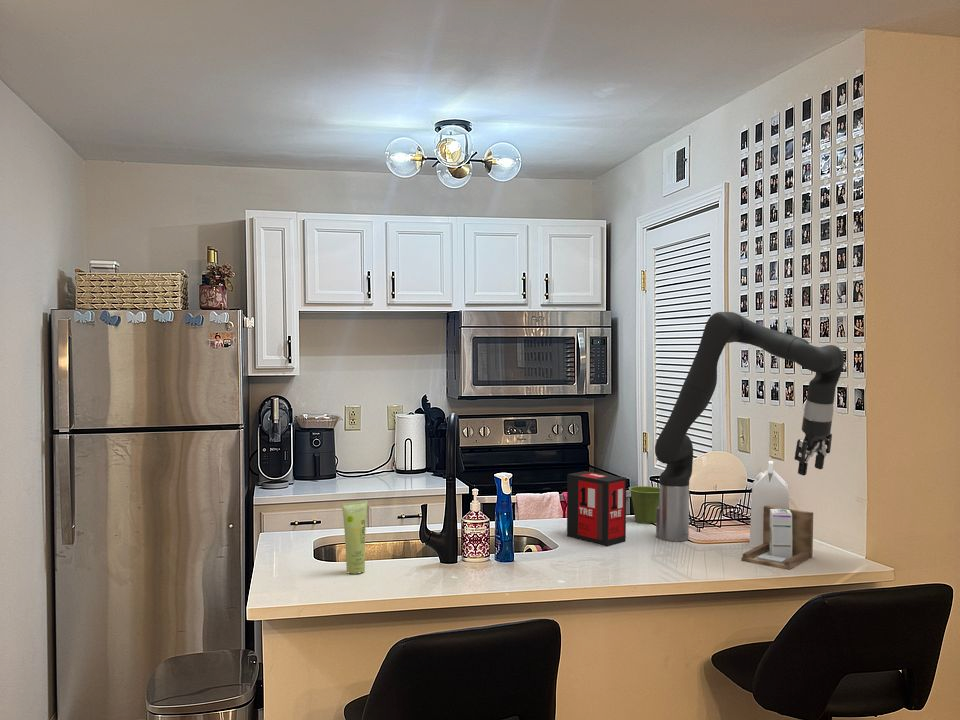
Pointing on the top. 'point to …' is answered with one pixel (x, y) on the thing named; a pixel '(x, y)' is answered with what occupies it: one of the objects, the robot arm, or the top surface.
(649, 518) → the plant pot
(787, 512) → the syrup box
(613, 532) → the cleaning product box
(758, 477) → the milk
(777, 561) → the grey offcut
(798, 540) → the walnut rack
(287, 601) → the top surface
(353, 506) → the tube
